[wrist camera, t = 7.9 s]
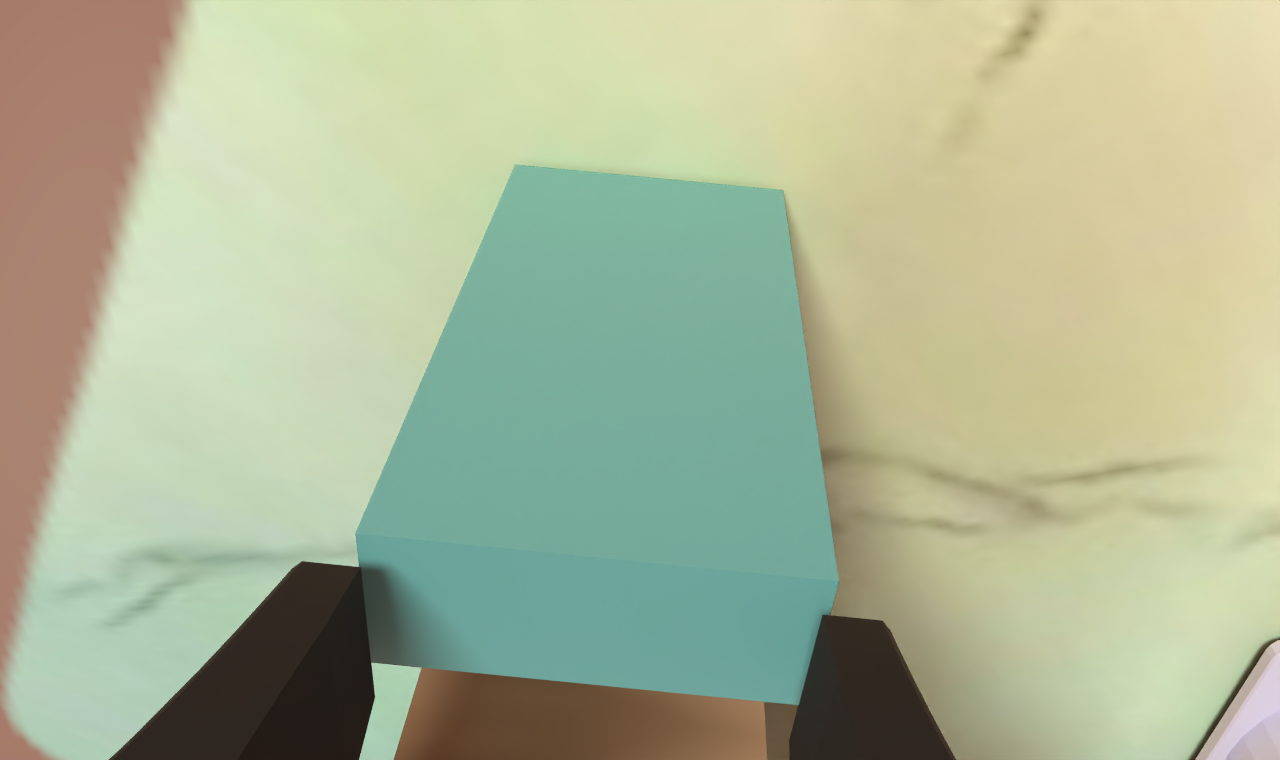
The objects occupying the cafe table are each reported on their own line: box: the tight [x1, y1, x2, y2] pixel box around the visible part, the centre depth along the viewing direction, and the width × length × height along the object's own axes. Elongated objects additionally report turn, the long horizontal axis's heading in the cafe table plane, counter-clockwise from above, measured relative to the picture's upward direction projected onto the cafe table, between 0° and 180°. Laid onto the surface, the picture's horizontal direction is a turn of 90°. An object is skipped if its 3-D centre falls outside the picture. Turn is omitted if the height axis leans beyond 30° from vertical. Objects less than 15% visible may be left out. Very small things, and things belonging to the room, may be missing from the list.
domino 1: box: [355, 165, 839, 705], centre depth 15 cm, size 5×2×10 cm, turn 86°
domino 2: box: [394, 668, 767, 760], centre depth 17 cm, size 5×2×10 cm, turn 85°
